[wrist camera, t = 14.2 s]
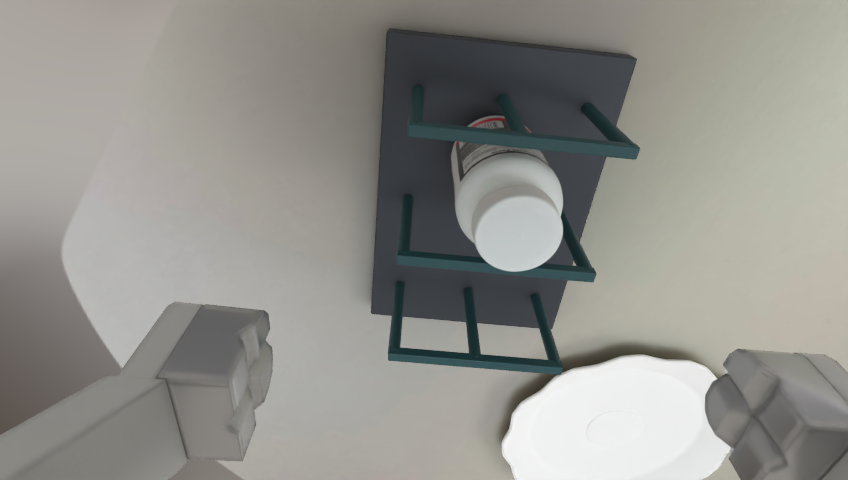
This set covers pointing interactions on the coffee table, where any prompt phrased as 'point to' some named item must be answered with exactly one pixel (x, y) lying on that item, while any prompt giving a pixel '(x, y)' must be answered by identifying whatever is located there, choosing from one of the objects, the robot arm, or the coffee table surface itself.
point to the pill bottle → (507, 201)
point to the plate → (617, 424)
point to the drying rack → (433, 185)
